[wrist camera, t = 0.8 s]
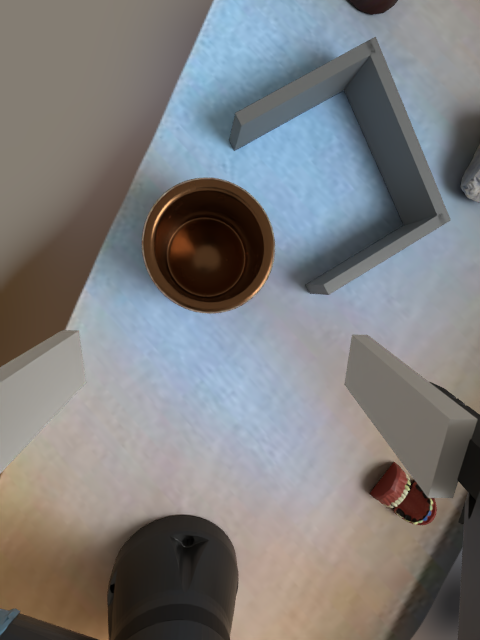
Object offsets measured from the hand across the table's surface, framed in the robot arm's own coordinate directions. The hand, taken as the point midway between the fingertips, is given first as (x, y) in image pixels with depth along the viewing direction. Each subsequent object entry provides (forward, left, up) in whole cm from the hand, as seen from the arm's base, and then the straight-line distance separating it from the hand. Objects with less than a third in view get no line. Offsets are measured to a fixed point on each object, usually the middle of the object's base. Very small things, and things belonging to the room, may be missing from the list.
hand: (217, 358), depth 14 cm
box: (+20, +6, -19) cm, 29 cm away
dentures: (+10, -34, -20) cm, 40 cm away
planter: (+3, +6, -20) cm, 21 cm away
